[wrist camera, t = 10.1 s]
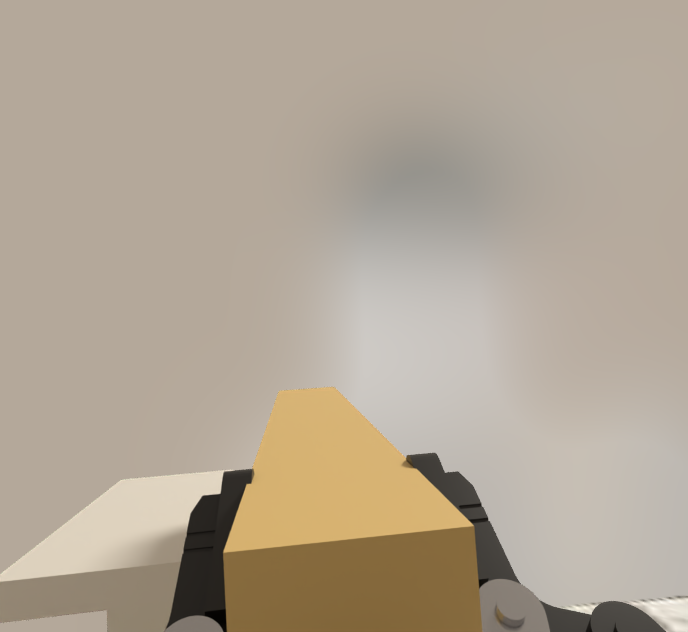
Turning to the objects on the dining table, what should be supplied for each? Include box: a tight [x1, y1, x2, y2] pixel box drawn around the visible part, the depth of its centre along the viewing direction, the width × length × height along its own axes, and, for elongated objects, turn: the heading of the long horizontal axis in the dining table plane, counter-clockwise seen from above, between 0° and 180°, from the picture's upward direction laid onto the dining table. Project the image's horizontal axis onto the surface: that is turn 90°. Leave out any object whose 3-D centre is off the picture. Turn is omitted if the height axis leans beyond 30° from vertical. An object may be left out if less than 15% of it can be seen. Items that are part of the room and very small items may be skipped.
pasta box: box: [223, 387, 482, 632], centre depth 21 cm, size 28×4×4 cm, turn 6°
